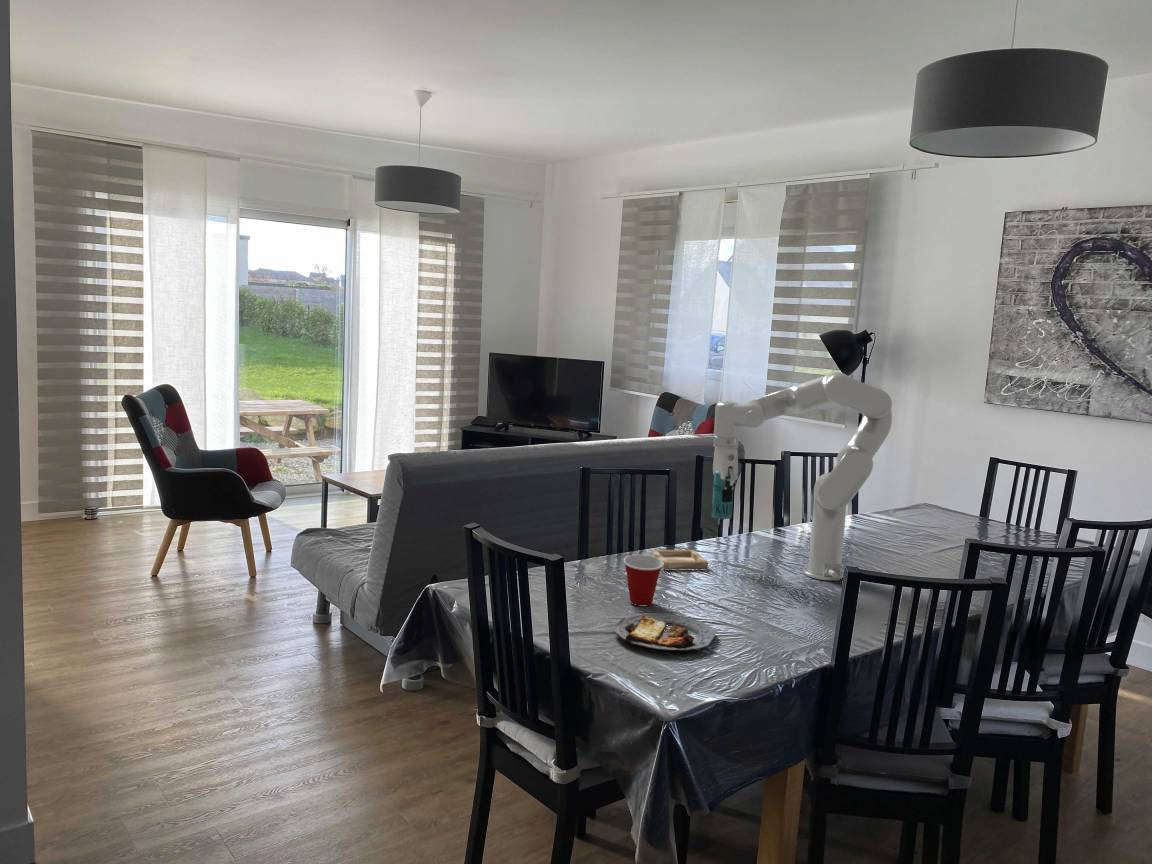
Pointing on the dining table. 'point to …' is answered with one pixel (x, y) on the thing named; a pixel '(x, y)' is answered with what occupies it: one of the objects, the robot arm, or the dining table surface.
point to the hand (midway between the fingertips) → (722, 498)
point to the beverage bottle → (720, 500)
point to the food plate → (651, 631)
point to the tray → (680, 559)
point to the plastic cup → (642, 577)
